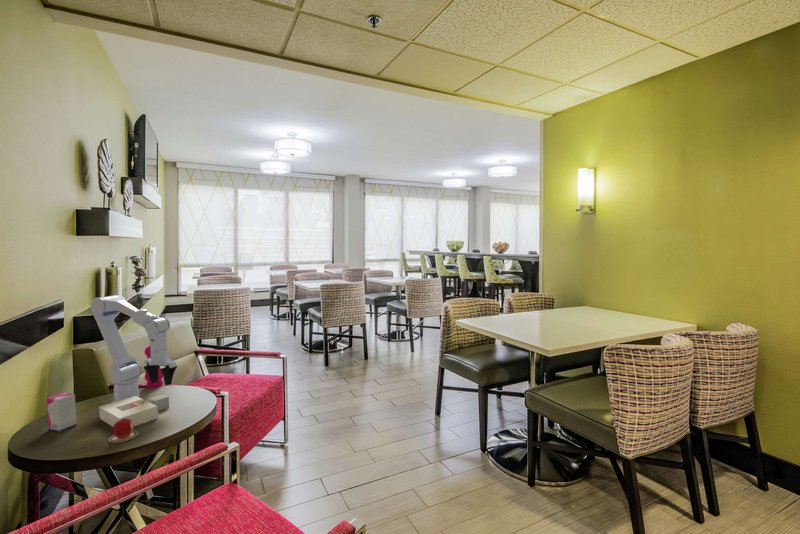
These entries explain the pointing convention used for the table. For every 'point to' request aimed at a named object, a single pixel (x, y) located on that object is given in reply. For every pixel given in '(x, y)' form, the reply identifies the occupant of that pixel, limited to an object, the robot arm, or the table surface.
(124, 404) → the socket housing
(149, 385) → the pepper mill
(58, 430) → the supplement box
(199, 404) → the table surface
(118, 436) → the red rounded piece
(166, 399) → the plug
